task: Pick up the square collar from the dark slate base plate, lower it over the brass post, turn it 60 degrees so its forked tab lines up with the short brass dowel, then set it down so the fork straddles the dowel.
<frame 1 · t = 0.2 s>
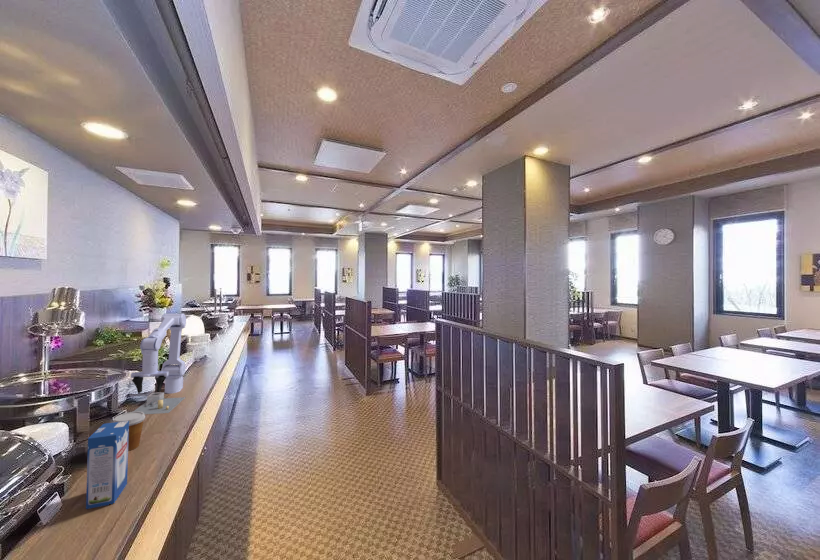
hand: (149, 391, 156), 10 cm above the counter, tool pointing down, fingers open, 7 cm apart
collar: (155, 402, 165), point 1 cm above the counter, touching base plate
disposable coffee cup: (128, 448, 125), on the counter
base plate: (158, 408, 161), on the counter
milk carton: (107, 496, 98), on the counter
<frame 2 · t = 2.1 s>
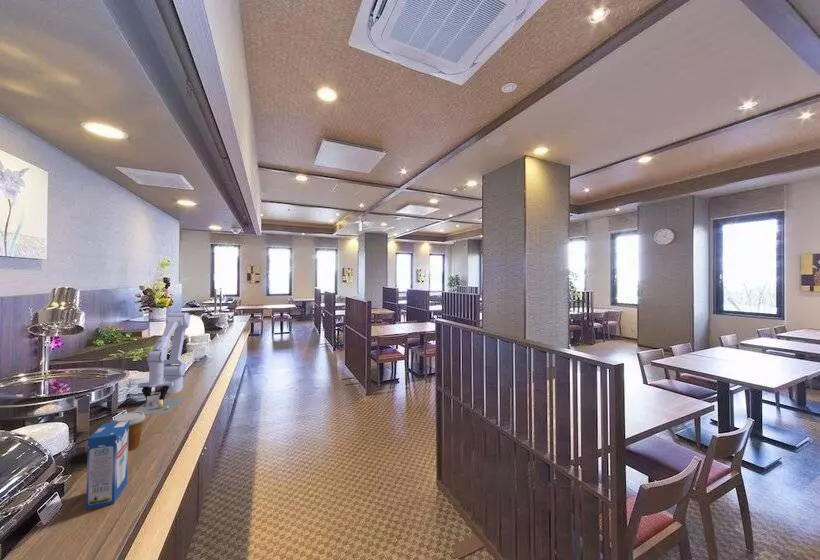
hand: (155, 401, 165), 2 cm above the counter, tool pointing down, fingers closed on collar, 5 cm apart
collar: (155, 402, 165), point 1 cm above the counter, touching base plate, gripper
everything else where it was.
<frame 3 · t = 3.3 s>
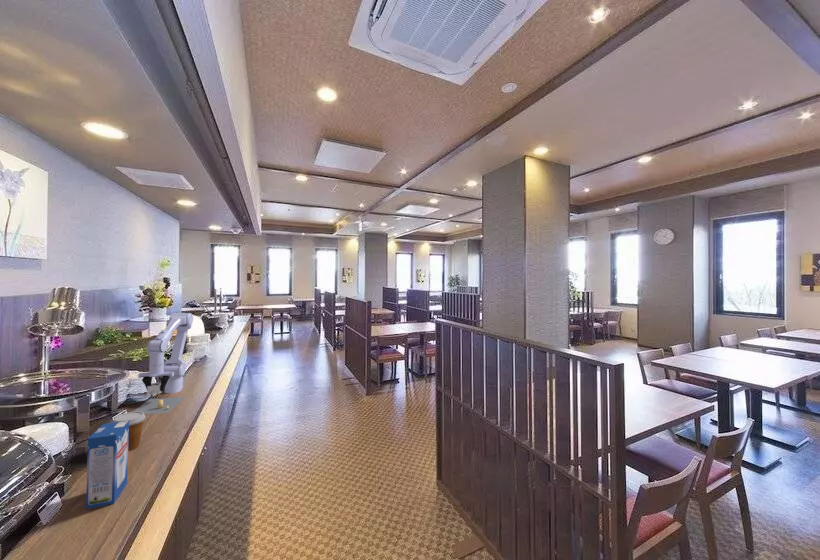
hand: (155, 391, 165), 7 cm above the counter, tool pointing down, fingers closed on collar, 5 cm apart
collar: (155, 392, 165), point 6 cm above the counter, touching gripper
everything else where it was.
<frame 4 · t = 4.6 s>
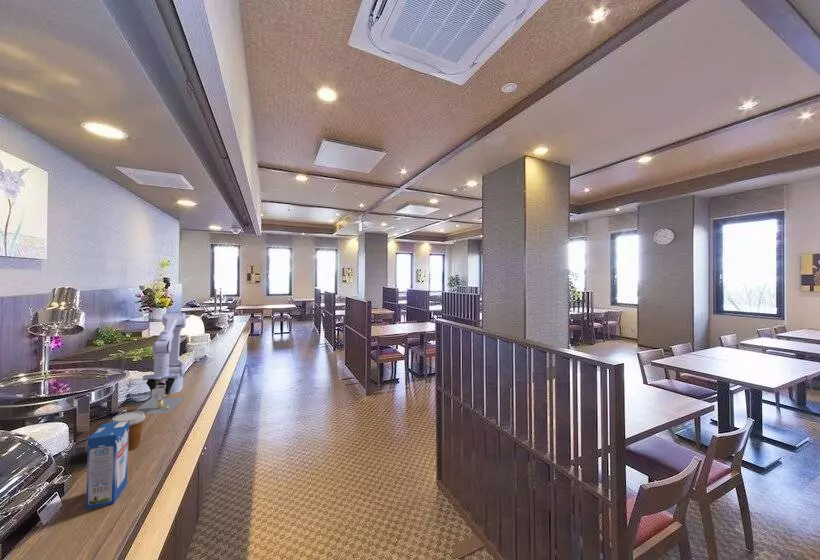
hand: (160, 394, 158), 8 cm above the counter, tool pointing down, fingers closed on collar, 5 cm apart
collar: (160, 395, 158), point 7 cm above the counter, touching gripper
everything else where it was.
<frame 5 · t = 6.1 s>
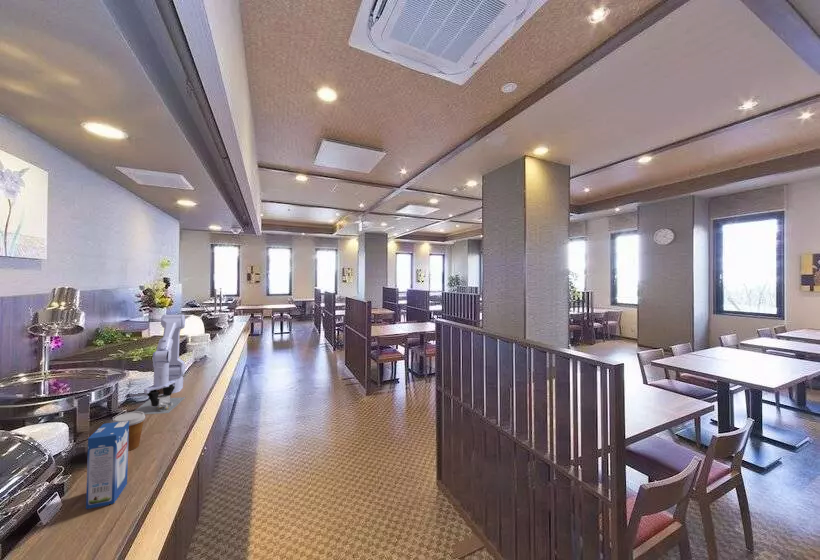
hand: (160, 403, 158), 3 cm above the counter, tool pointing down, fingers closed on collar, 5 cm apart
collar: (160, 404, 158), point 3 cm above the counter, touching gripper
everything else where it was.
when the fingers open (3 cm above the counter, at t = 7.2 s): collar stays where it is, resting on base plate.
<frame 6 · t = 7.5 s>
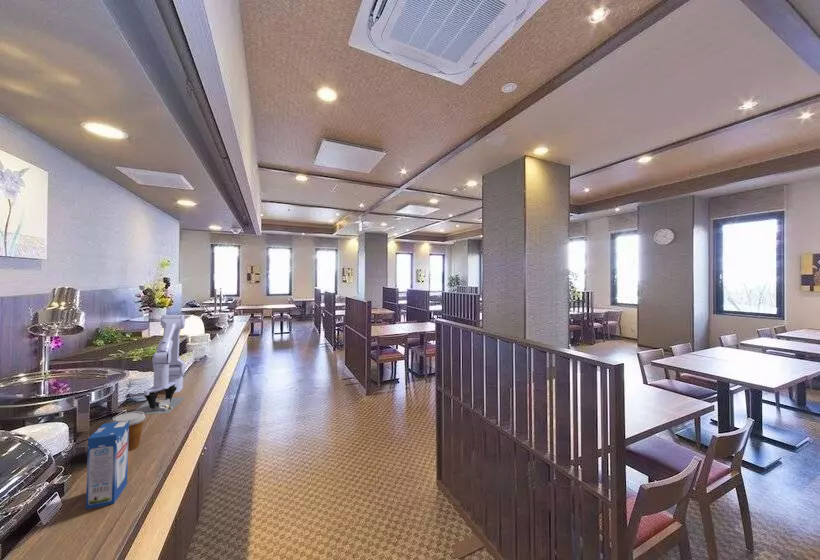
hand: (160, 405, 158), 3 cm above the counter, tool pointing down, fingers open, 7 cm apart
collar: (160, 408, 158), point 1 cm above the counter, touching base plate
everything else where it was.
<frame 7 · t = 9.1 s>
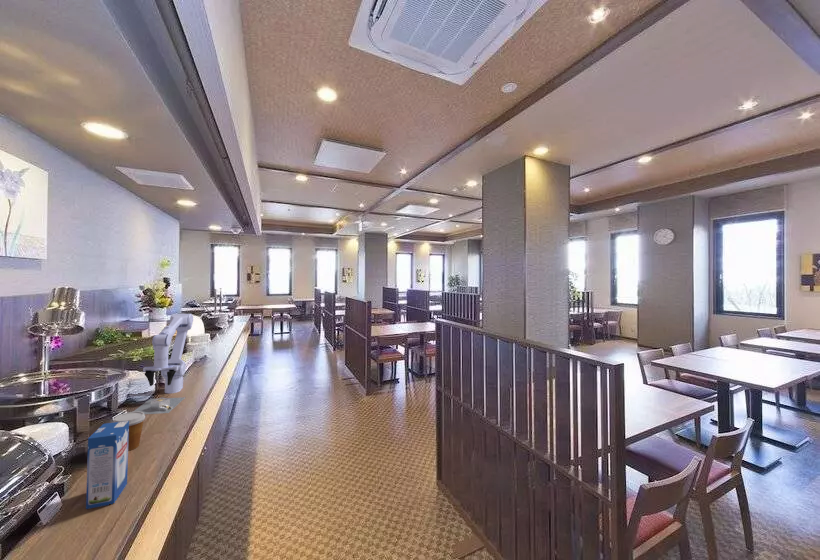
hand: (160, 385, 166), 9 cm above the counter, tool pointing down, fingers open, 7 cm apart
nothing on the counter moved.
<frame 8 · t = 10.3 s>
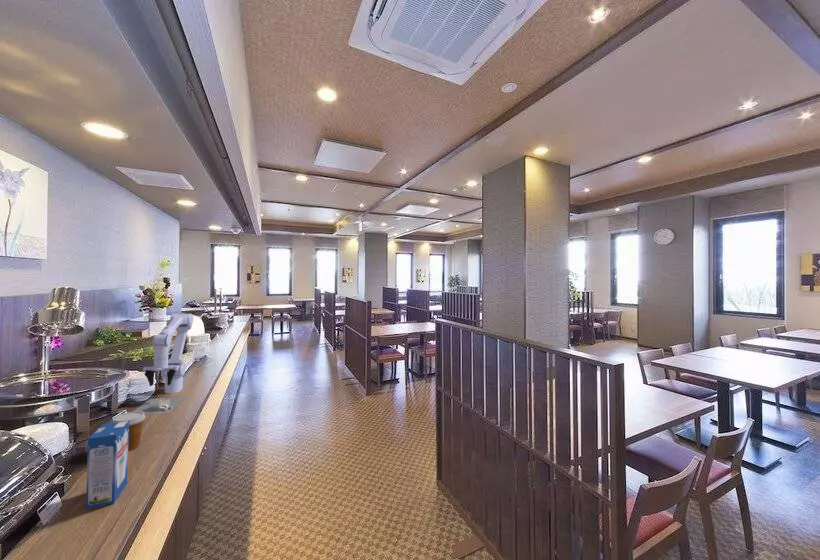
hand: (160, 385, 166), 9 cm above the counter, tool pointing down, fingers open, 7 cm apart
nothing on the counter moved.
at the end: collar 0.0 cm from the target spot on the base plate, point 1.2 cm above the base plate's base; collar tilted 0°; the gripper is holding nothing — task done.
